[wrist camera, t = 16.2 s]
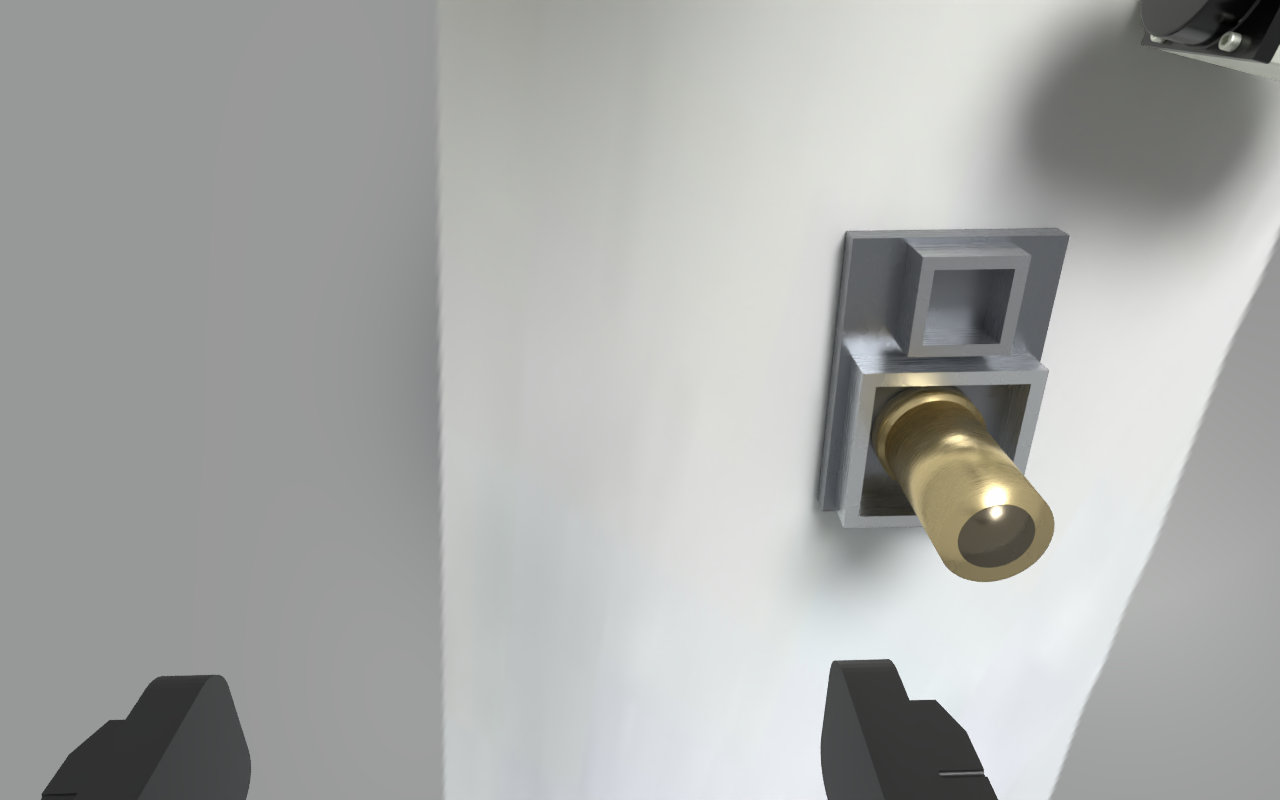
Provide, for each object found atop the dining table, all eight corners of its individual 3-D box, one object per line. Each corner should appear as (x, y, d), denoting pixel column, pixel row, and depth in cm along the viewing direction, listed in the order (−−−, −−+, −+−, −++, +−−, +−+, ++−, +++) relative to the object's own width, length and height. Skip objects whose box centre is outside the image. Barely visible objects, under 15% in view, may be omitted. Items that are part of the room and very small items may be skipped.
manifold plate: (846, 231, 39) (864, 251, 36) (1057, 228, 39) (1091, 247, 37) (817, 498, 46) (831, 533, 43) (997, 494, 46) (1022, 528, 43)
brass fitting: (879, 384, 42) (943, 483, 33) (986, 383, 42) (1076, 481, 34) (865, 476, 44) (922, 589, 36) (966, 475, 44) (1046, 587, 36)
